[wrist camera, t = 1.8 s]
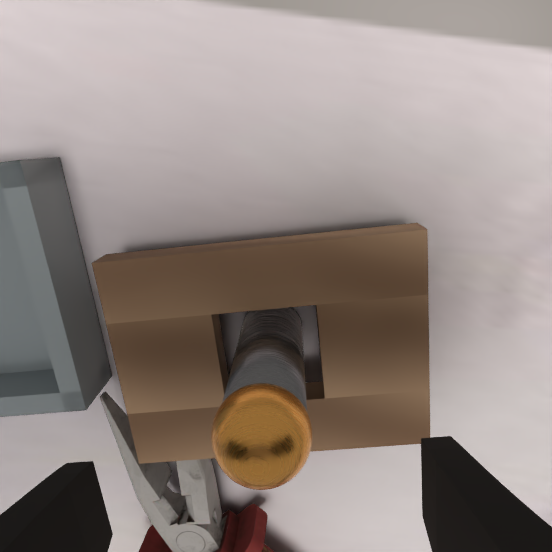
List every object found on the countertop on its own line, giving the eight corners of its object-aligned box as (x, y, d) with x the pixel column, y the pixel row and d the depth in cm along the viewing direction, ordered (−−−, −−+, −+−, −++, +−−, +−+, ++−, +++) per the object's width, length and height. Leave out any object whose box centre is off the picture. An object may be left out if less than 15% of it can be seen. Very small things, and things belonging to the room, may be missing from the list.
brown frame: (412, 404, 19) (430, 443, 16) (157, 424, 20) (138, 463, 17) (407, 216, 17) (427, 229, 14) (119, 246, 17) (91, 263, 15)
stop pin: (307, 355, 18) (319, 511, 11) (244, 360, 19) (211, 517, 11) (301, 295, 18) (309, 416, 10) (236, 301, 18) (194, 425, 10)
